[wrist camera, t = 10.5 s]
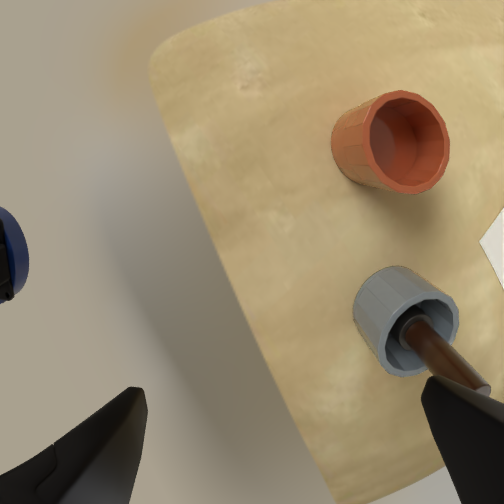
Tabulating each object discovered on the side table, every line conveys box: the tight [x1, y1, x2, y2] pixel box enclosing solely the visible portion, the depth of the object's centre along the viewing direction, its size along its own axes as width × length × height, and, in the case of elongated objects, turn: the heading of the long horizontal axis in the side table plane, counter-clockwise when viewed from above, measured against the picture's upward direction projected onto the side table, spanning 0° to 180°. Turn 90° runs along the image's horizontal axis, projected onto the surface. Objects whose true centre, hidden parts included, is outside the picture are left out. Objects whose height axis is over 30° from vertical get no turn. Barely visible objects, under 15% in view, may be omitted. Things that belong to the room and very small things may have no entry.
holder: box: [331, 90, 450, 194], centre depth 16 cm, size 5×5×6 cm
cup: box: [353, 266, 459, 377], centre depth 20 cm, size 6×6×5 cm
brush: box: [389, 304, 491, 397], centre depth 16 cm, size 3×3×11 cm
